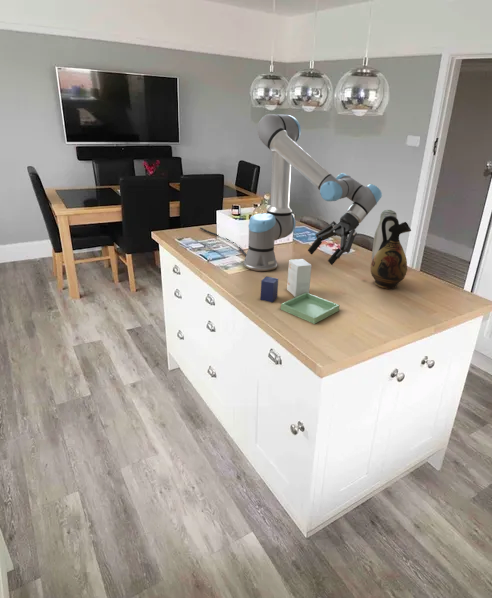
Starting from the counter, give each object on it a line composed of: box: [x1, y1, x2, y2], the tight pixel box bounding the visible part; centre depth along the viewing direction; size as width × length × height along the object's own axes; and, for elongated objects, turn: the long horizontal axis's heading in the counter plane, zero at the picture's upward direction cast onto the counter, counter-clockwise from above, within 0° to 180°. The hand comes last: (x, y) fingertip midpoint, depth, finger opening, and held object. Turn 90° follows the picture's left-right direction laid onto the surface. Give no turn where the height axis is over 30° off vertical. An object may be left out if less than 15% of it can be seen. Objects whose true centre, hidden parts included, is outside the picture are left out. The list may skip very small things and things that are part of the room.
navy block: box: [260, 276, 279, 303], centre depth 160 cm, size 5×5×8 cm
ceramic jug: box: [369, 216, 412, 290], centre depth 177 cm, size 17×15×30 cm
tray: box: [280, 292, 340, 325], centre depth 154 cm, size 16×16×2 cm
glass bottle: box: [371, 209, 398, 261], centre depth 198 cm, size 10×10×28 cm
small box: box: [286, 258, 313, 298], centre depth 166 cm, size 8×6×13 cm
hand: (319, 257), depth 167 cm, fingers open, 13 cm apart
